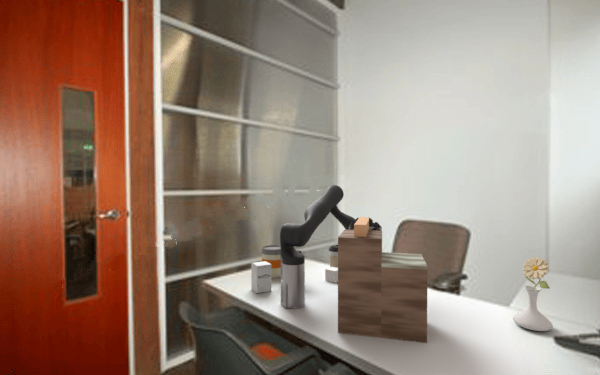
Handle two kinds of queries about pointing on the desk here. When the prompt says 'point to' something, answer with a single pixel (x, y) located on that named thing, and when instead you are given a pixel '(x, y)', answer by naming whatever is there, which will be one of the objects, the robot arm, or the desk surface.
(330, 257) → the coffee cup
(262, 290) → the supplement box
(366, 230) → the terracotta bar
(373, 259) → the stepped stand
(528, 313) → the flower in vase
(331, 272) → the white cube
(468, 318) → the desk surface
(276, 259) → the reusable coffee cup
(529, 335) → the desk surface
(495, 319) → the desk surface
